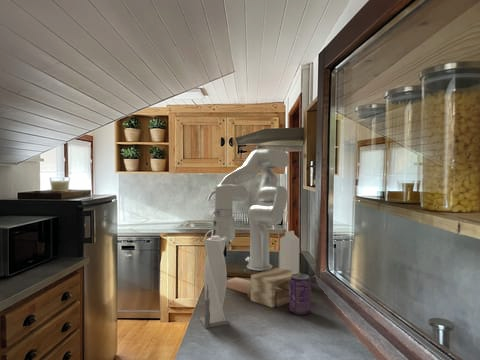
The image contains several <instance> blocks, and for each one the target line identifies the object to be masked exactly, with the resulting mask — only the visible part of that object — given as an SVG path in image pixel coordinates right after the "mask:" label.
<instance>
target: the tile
mask: <svg viewBox="0 0 480 360" xmlns="http://www.w3.org/2000/svg"><path fill="white" fill-rule="evenodd" d="M226 289H230V290H234V291H237V292H240V293H244V294H247V295H248V292H251V280H249V279H245V278H240V277H237V276H236V277H233V278H231V279H228V280H226Z"/></svg>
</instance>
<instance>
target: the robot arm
mask: <svg viewBox="0 0 480 360" xmlns="http://www.w3.org/2000/svg"><path fill="white" fill-rule="evenodd" d="M289 163H290V156H289V154H288V153H287V152H286V151H284V150H280V149H277V148H276V149H275V148H259V149H257V148H256V149H253V150H252V151H251V152H250V153H249V155H248V157H247V158H246V159H245V160H244V162H243V164H242V165H241V166H240V167H238V168H237V169H235V170H233V171H232V172H230V173H229V174H227V175H226V176H225V177H223V179H222V180H221V182H220V183H219V184H216V186H215V190H214V211H213V215H214V216H213V219H212V226H211V230H213V236H220V238H222V237H224V236H226V237H227V240H226V244H225V248H224V252H223V254H224V258H225V257H227V256H228V254H227V250H228V249H227V248H228V247H229V244H230V243H231V242H233V241H234V239H235V238H236V224H235V218H234V216H233V204H234V203H233V202H243V201H245V200H246V199H247V197H248V194H249V193H248V188H247V187H246V186H245V185H242V184H244V183H247V182H251V181H253V180H255V179H256V178H257V175H258V174H259V172H260V174H261V179H260V182H259V186H258V189H257V193H256V200H257V201H256V202H258V203H259V204H258V203H257V204H253V205H251V206H250V207H249V208H248V212H247V217H248V222H249V256H247V257H246V258H245V262H248V264H247V265H246V268H247V269H248V270H252V271H258V272H260V271H261V272H263V271H267V270H270V269H273V264H271V263H270V231H269V228H268V227H267V225H271V226H272V225H273V226H277V225H280V224H281V222H282V221H283V217H284V214H285V209H286V206H287V203H288V190H287V189H286V187H284V186H283V185H278V176H277V173H276V172H275V171H274V169H285V168H287V167H288V165H289Z"/></svg>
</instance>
